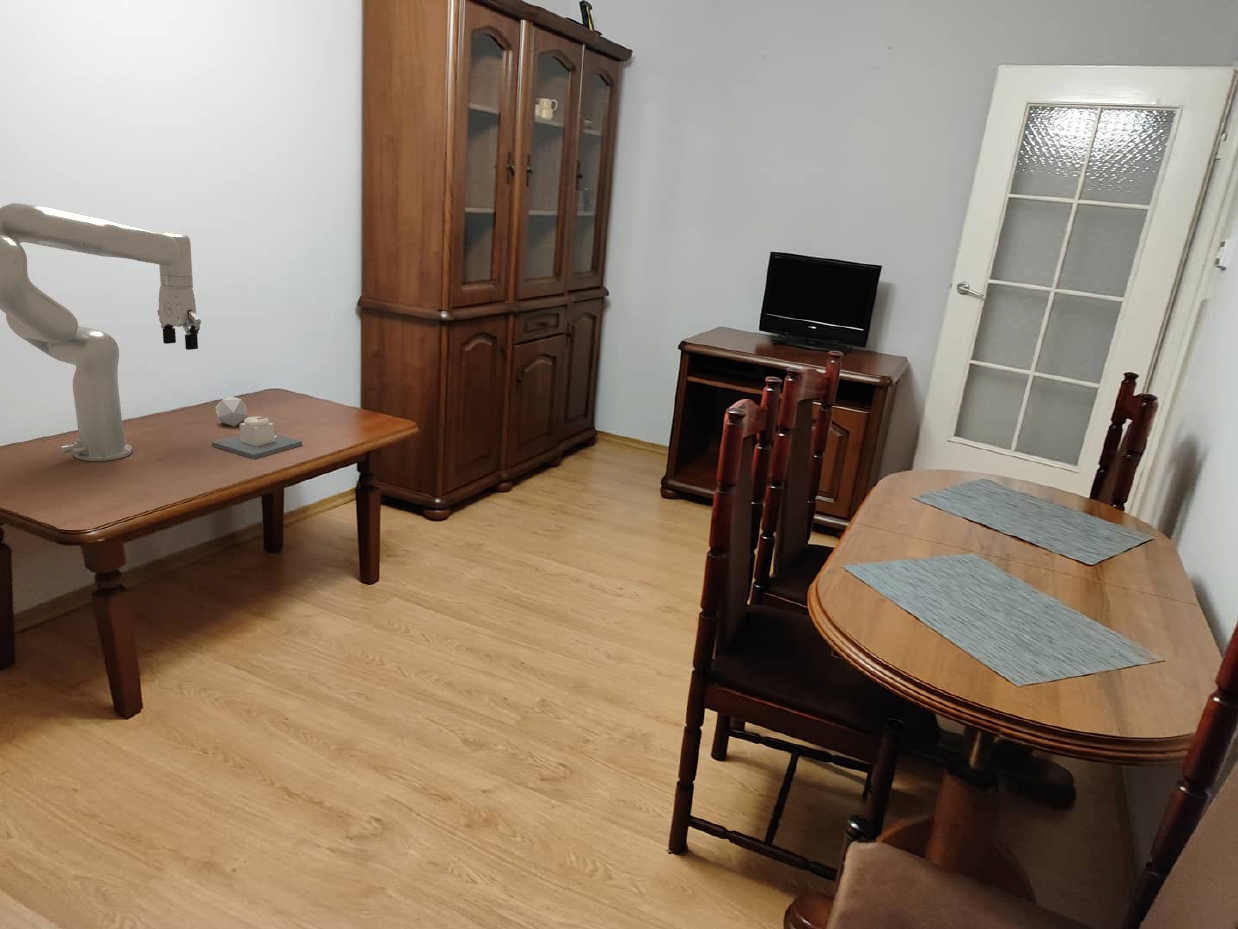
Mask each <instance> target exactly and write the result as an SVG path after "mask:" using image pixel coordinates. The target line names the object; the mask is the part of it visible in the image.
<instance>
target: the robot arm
mask: <svg viewBox="0 0 1238 929" xmlns="http://www.w3.org/2000/svg"><path fill="white" fill-rule="evenodd" d="M190 238H191V237H189V235H187V234H184V233H178V232H161V233H160V232H155V231H150V230H147V229H146V230H145V229H142V228H138V227H131V226H127V225H124V224H119V223H115V222H112V221H109V220H104V219H101V218H96V217H91V216H88V215H87V216H86V215H82V214H78V213H73V212H70V211H69V212H68V211H64V210H59V209H55V208H52V207H51V208H50V207H46V206H41V205H35V204H27V203H20V202H14V203H9V204H5V205H4V206H3V205H2V207H0V310H1V311H2V312H4V314H5V319H6V323H7V325H8V326H9V329H11V331H12V332H13V333H14V334H16V335H17V336H18V337H19V338H21V339H23V340H24V341H26V342H27V343H29V344H31V345H32V346H33V347H35V348H37V350H39V351H41V352H42V353H44V354H46V355H48V356H50V357H51V358H53V359H55V360H57V361H59V362H63V363H67V364H71V365H74V366H75V370H74V373H73V374H74V375H73V378H72V393H73V394H72V395H73V400H74V408H75V415H76V422H77V423H76V424H77V430H78V437H76V438H74V442H72V443H71V444H66V445H61V446H59V447H58V451H59V453H60V454H61V455H64V454H68V453H71V454H72V455H73V457H74V458H76V459H78V460H81V461H88V462H106V461H114V460H118V459H122V458H125V457H129V456H130V455H131V454H132V453H133V447H132V446H131V444H128V443H126V442H125V437H124V428H123V426H124V425H123V420H122V419H123V417H122V409H121V399H120V398H121V397H120V391H119V390H120V389H119V379H118V377H119V376H118V373H119V371H118V370H119V361H120V360H119V359H120V348H119V345H118V343H117V341H116V340H115V339H114V338H113V337H112V336H111V335H110V334H108V333H106V332H104V331H102V330H99V329H95V328H91V327H87V326H81V325H79V322H78V319H77V318H76V316H75V314H74V313H72V311H70V310H69V309H68V308H67V307H65V306H64V305H62V304H61V303H60V302H58V301H56V300H55V299H53V298H52V297H51V296H49V295H47V294H46V293H45V292H44V291H42V290H41V289H39V287H37V286H36V285H35V284H33V283H32V281H31V280H30V278H29V273H28V256H27V253H26V251H25V249H24V248H23V246H22V245H21V244H22V243H27V244H32V245H37V246H42V247H43V246H44V247H49V248H54V249H59V250H60V249H61V250H65V251H70V252H76V253H82V254H86V255H92V256H100V257H107V258H117V259H118V258H119V259H120V258H121V259H126V260H134V261H137V262H141V263H148V264H149V263H150V264H153V265H154V264H156V265H159V277H160V279H159V281H160V285H159V290H158V291H159V292H158V309H157V310H156V311H157V316H158V317H159V322H160V324H161V325H160V328H161V329H162V341H163V344H165V345H166V344H169V345H170V344H175V343H176V342H177V340H176V338H177V336H176V328H175V327H178V328H179V327H183V330H184V331H185V334H184V344H185V345H184V346H185V350H187V351H190V350H198V348H199V342H198V341H199V338H198V335H199V331H200V329H201V327H200V326H201V324H202V320H201V318H200V317H199V316H198V315H197V308H196V305H197V304H196V298H195V293H194V283H193V280H194V279H193V266H192V265H193V263H192V262H193V261H192V246H191V239H190Z"/></svg>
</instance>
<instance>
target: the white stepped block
mask: <svg viewBox="0 0 1238 929" xmlns="http://www.w3.org/2000/svg"><path fill="white" fill-rule="evenodd" d="M269 420H270V418H268V417H266V416H250V417H249V416H248V417H246V418H245V419H244V420H243V422H241V423H239V435H240V439H241V442H244V443H247V444H250V445H254V446H259V445H263V444H267V443H270V442H274V433H275V425H274V423H272V422H270V421H269Z"/></svg>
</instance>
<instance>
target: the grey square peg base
mask: <svg viewBox="0 0 1238 929" xmlns="http://www.w3.org/2000/svg"><path fill="white" fill-rule="evenodd" d="M300 446H303V441H302V440H299V439H295V438H293V437H288V436H285V435H282V434H280V433H279V434H278V433H275V432H274V442H270V443H267V444H263V445H259V446H254V445H250V444H247V443H244V442H241V439H240V434H237V435H233V436H229V437H226V438H221V439H217V440H214V441H211V447H213V448H217V449H221V450H222V451H227V452H230V453H232V454H237V455H239V456H243V457H247V458H249V459H253V460H255V459H258V458H263V457H266V456H269V455H272V454H276V453H281V452H283V451H287V450H290V449H294V448H298V447H300Z"/></svg>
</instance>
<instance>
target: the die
mask: <svg viewBox="0 0 1238 929" xmlns="http://www.w3.org/2000/svg"><path fill="white" fill-rule="evenodd" d="M215 411H216V417H217V419H218V420H219V421H220V422H221V423H222V424H224V425H228V426H230V427H236V426H238V425H240V424H241V423H243V422H244V419H246V418H248V417H249V412H248V408H247V405H246V403H245V402H244V401H243V400H242V399H241V398H238V397H235V396H232V395H229V396H228V397H225V398H223V399H221V401H219V403H217V405H216V406H215Z"/></svg>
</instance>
